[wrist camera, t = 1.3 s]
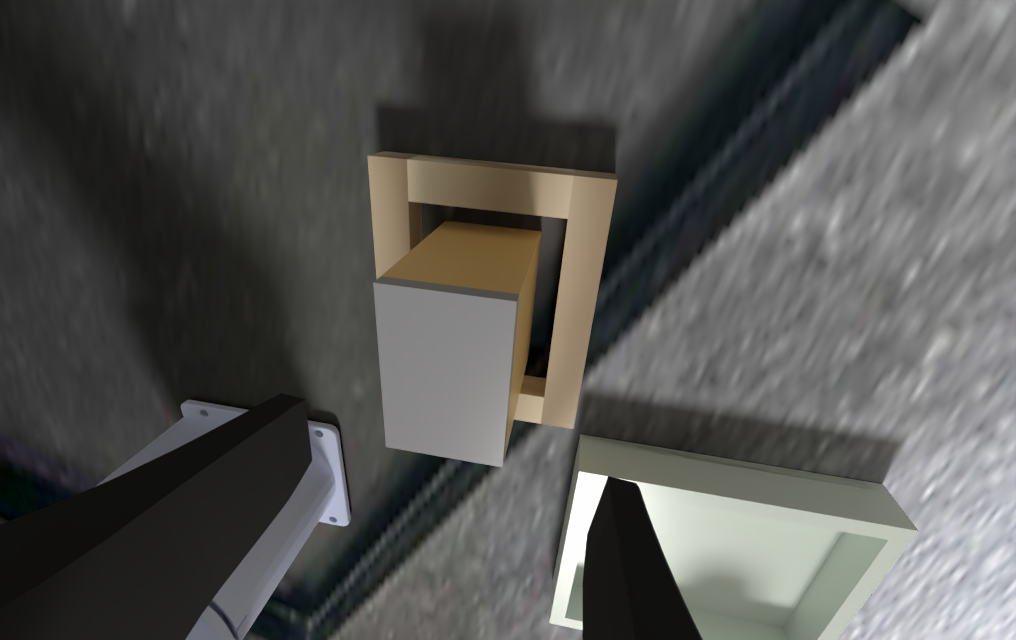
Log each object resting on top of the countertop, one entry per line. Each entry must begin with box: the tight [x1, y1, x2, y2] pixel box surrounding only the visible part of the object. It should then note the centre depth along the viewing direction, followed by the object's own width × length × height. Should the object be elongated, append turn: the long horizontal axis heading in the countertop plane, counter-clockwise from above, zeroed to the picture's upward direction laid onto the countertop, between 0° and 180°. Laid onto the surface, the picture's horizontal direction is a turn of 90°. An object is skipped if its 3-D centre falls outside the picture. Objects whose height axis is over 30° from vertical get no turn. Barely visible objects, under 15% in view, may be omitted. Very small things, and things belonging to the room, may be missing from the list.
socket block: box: [368, 151, 618, 429], centre depth 19 cm, size 9×11×2 cm
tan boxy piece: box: [373, 221, 542, 467], centre depth 16 cm, size 4×6×7 cm, turn 176°
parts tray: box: [549, 434, 918, 640], centre depth 23 cm, size 14×12×2 cm
